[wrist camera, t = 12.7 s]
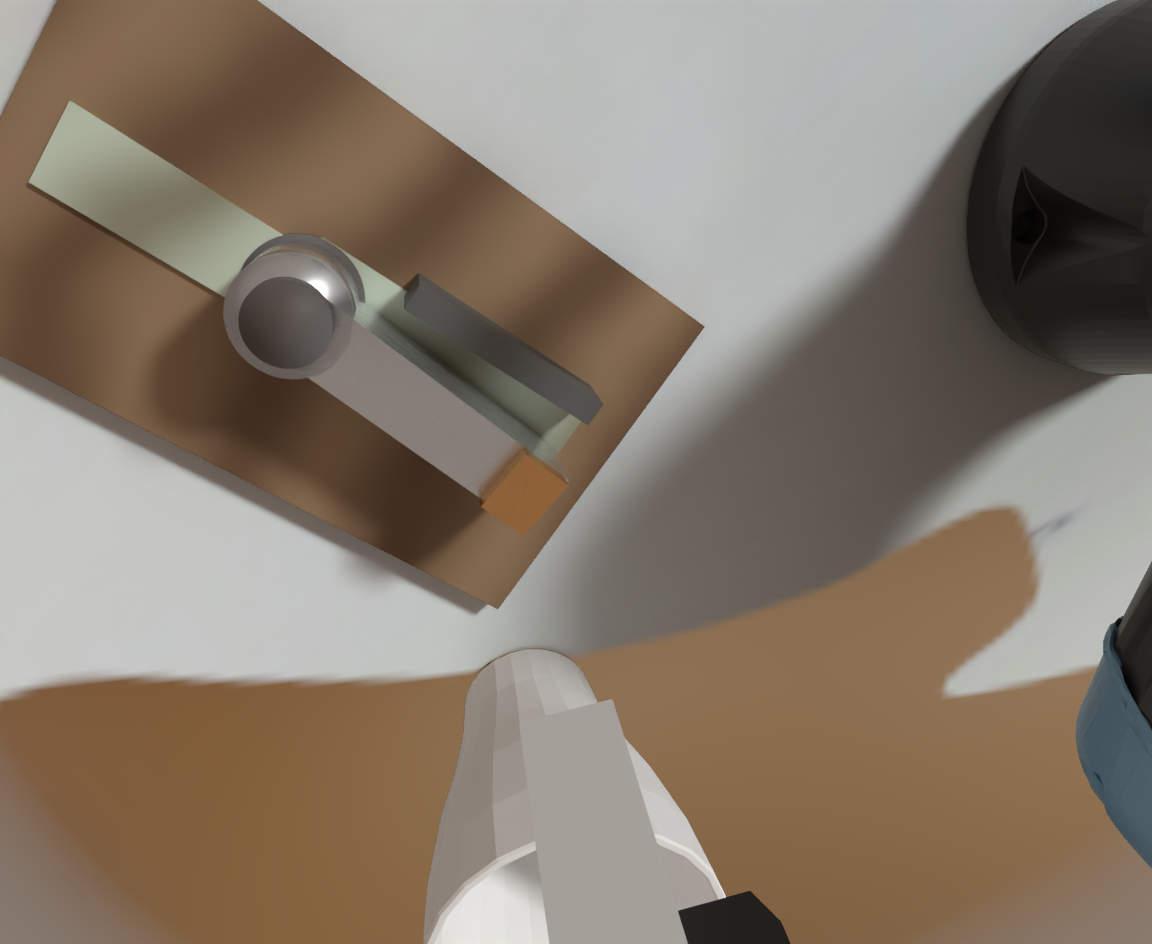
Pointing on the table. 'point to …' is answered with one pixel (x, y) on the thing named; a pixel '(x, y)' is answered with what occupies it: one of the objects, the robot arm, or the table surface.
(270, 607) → the table surface
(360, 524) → the lock board
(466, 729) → the cup
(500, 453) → the swing bar
